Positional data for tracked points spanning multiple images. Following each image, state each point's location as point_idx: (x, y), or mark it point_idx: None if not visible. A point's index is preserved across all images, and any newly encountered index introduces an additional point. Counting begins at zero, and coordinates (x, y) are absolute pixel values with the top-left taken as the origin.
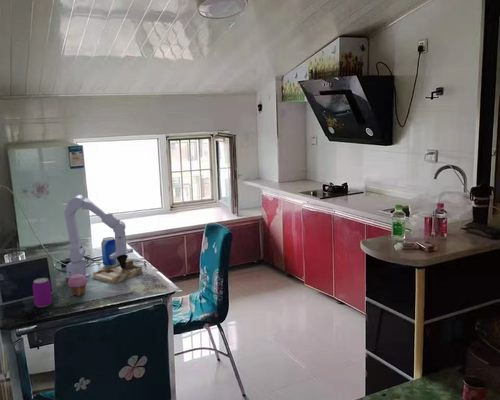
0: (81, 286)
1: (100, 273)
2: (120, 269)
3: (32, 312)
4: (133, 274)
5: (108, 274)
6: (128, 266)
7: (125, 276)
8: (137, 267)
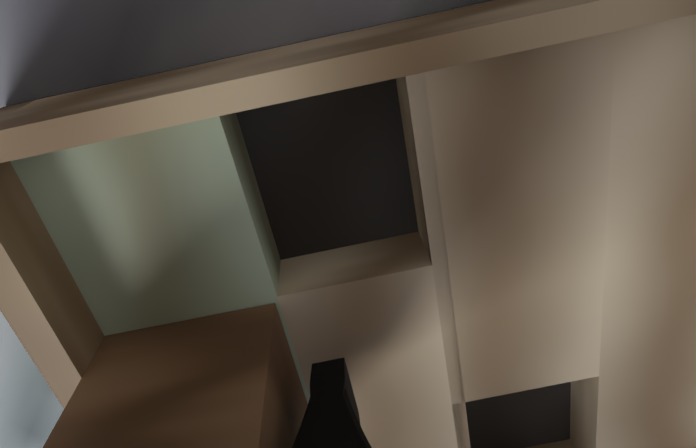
0: None
1: (677, 439)
2: None
3: None
4: (244, 58)
5: (652, 325)
6: (225, 359)
7: (490, 11)
8: (30, 248)
